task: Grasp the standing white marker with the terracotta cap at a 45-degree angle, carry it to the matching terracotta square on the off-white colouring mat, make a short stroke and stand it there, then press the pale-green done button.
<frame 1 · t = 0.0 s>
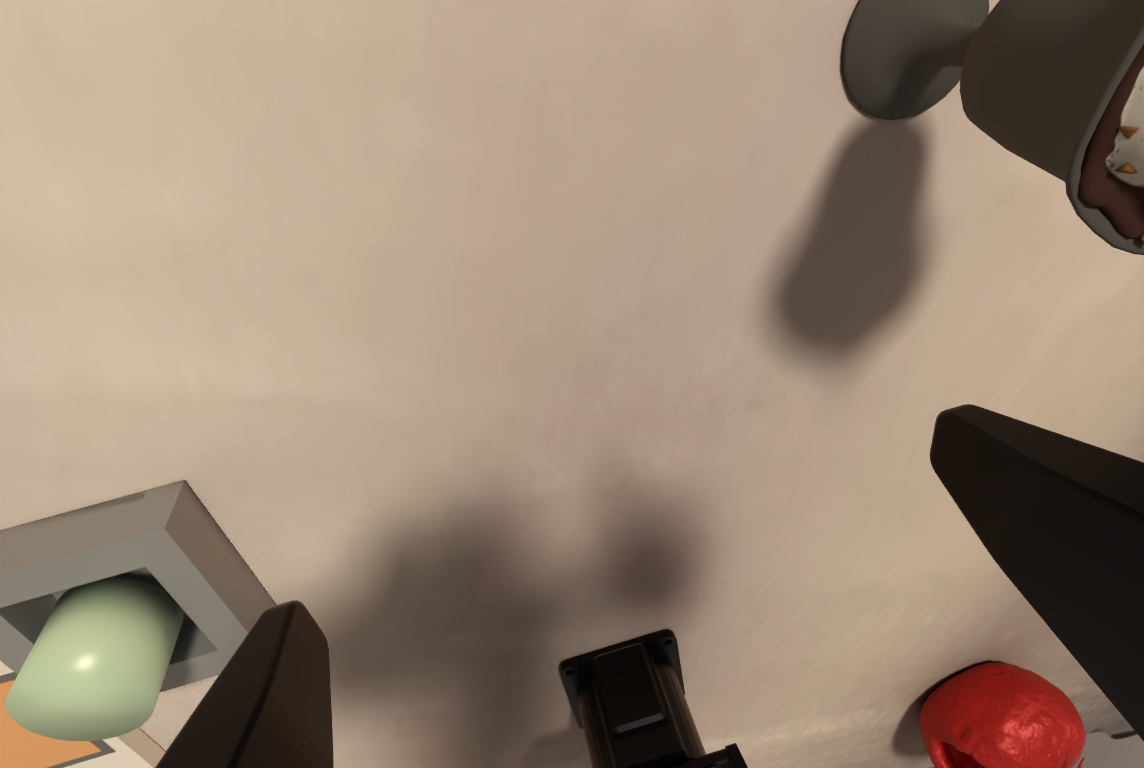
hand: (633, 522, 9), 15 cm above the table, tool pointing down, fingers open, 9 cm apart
button housing: (136, 578, 26), on the table
pomegranate: (963, 685, 48), on the table
done button: (102, 657, 23), point 4 cm above the table, slide at 0.0 cm
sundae: (910, 36, 21), on the table
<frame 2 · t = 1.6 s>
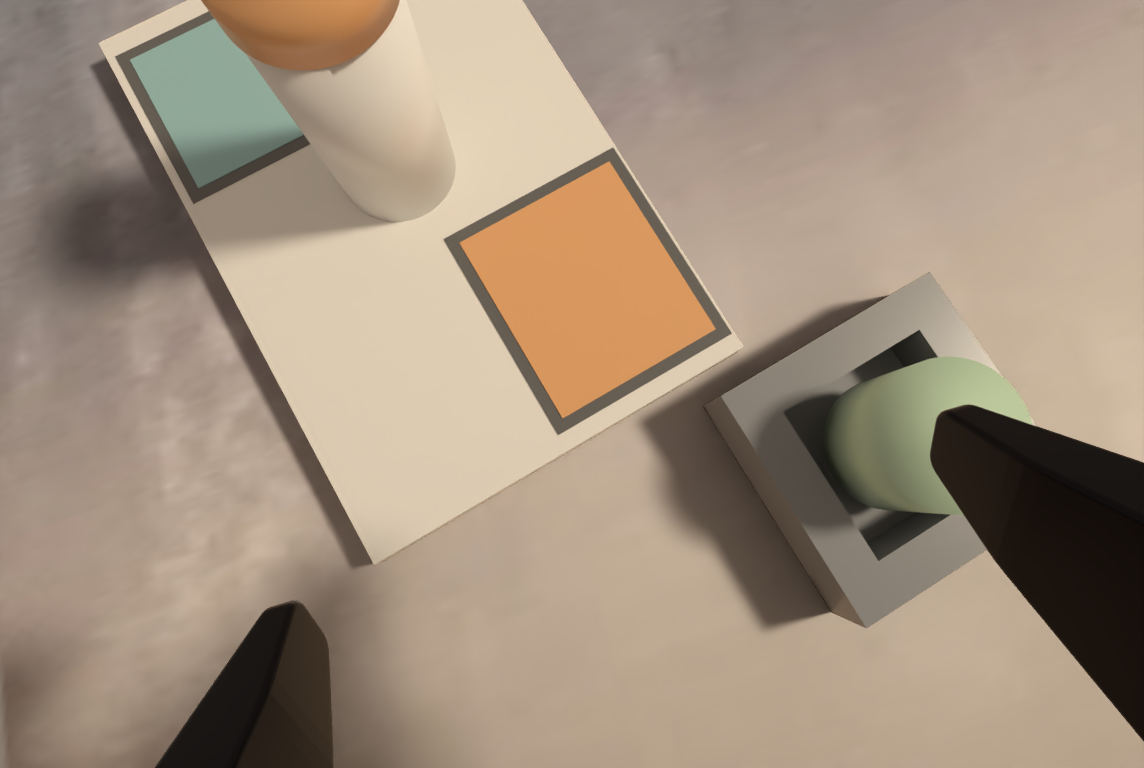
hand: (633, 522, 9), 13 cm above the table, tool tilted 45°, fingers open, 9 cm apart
button housing: (862, 447, 23), on the table
marker: (398, 167, 23), point 1 cm above the table, touching colouring mat
done button: (918, 439, 19), point 4 cm above the table, slide at 0.0 cm
colouring mat: (418, 203, 24), on the table
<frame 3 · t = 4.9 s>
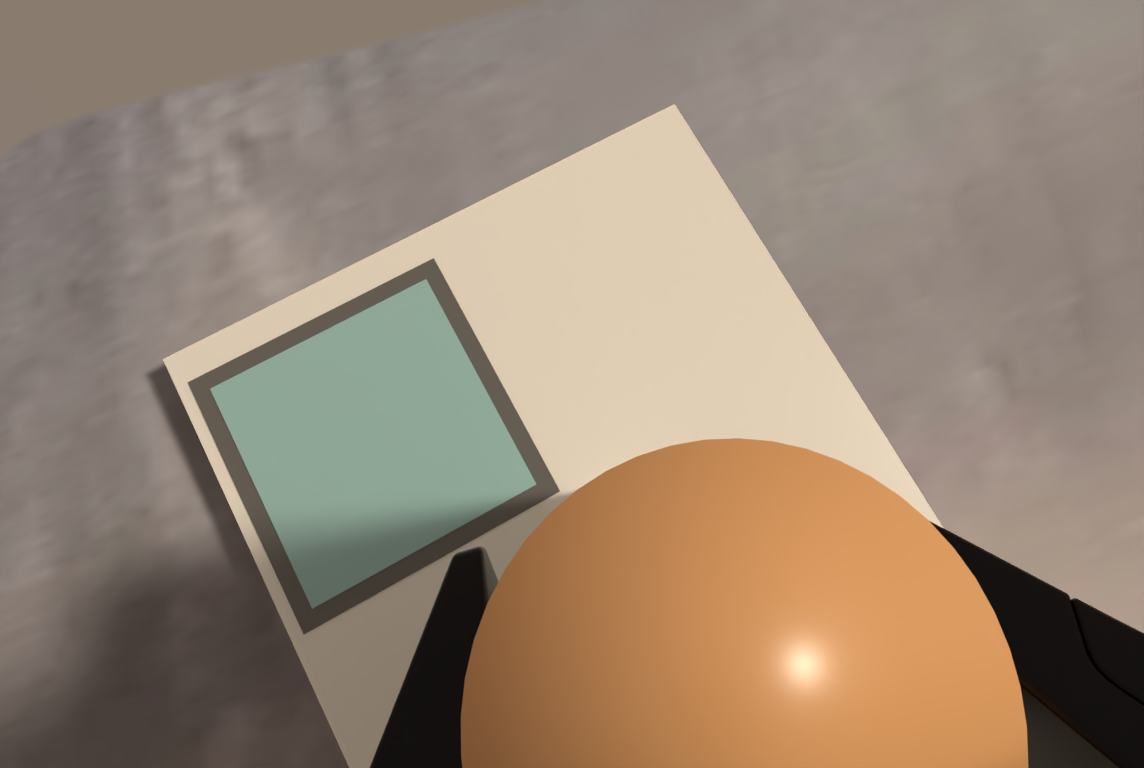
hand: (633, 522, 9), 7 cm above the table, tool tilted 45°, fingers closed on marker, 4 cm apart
marker: (620, 576, 15), point 1 cm above the table, touching colouring mat, gripper
colouring mat: (638, 609, 15), on the table
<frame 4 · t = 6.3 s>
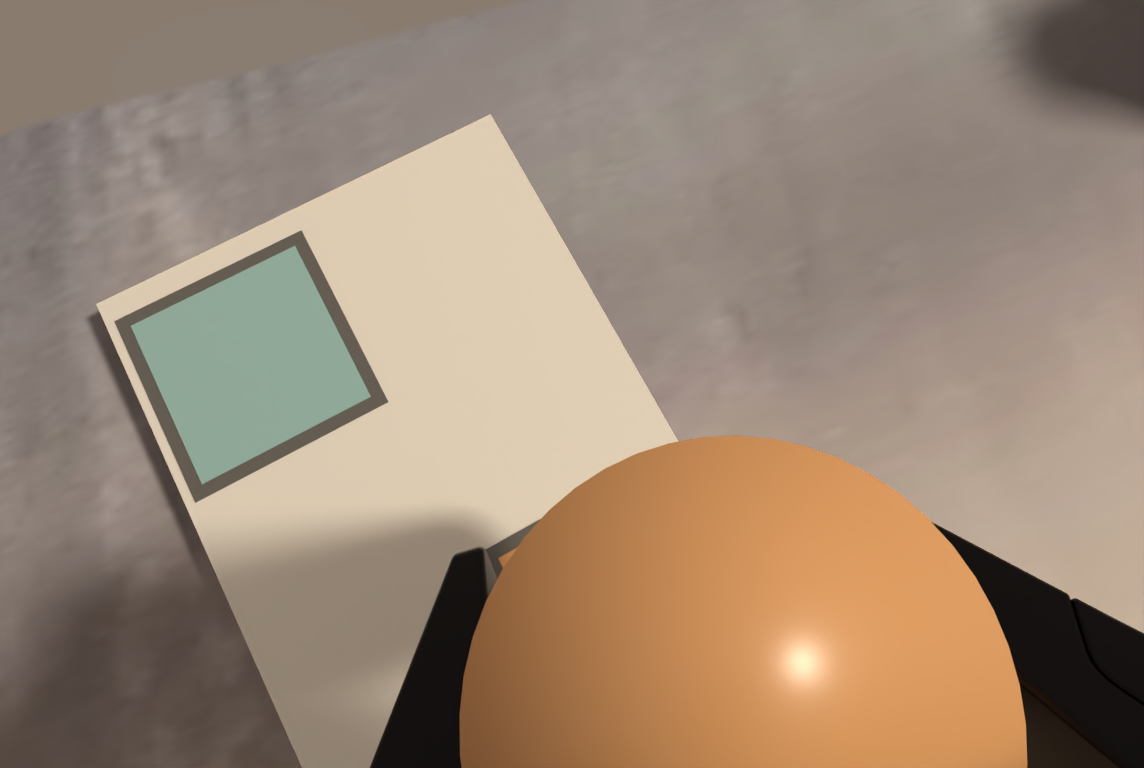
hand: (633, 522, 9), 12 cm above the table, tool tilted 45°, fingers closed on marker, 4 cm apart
marker: (620, 575, 15), point 6 cm above the table, touching gripper
colouring mat: (450, 492, 21), on the table
when the fingers open (8 cm above the table, at t = 7.9 s): marker stays where it is, resting on colouring mat.
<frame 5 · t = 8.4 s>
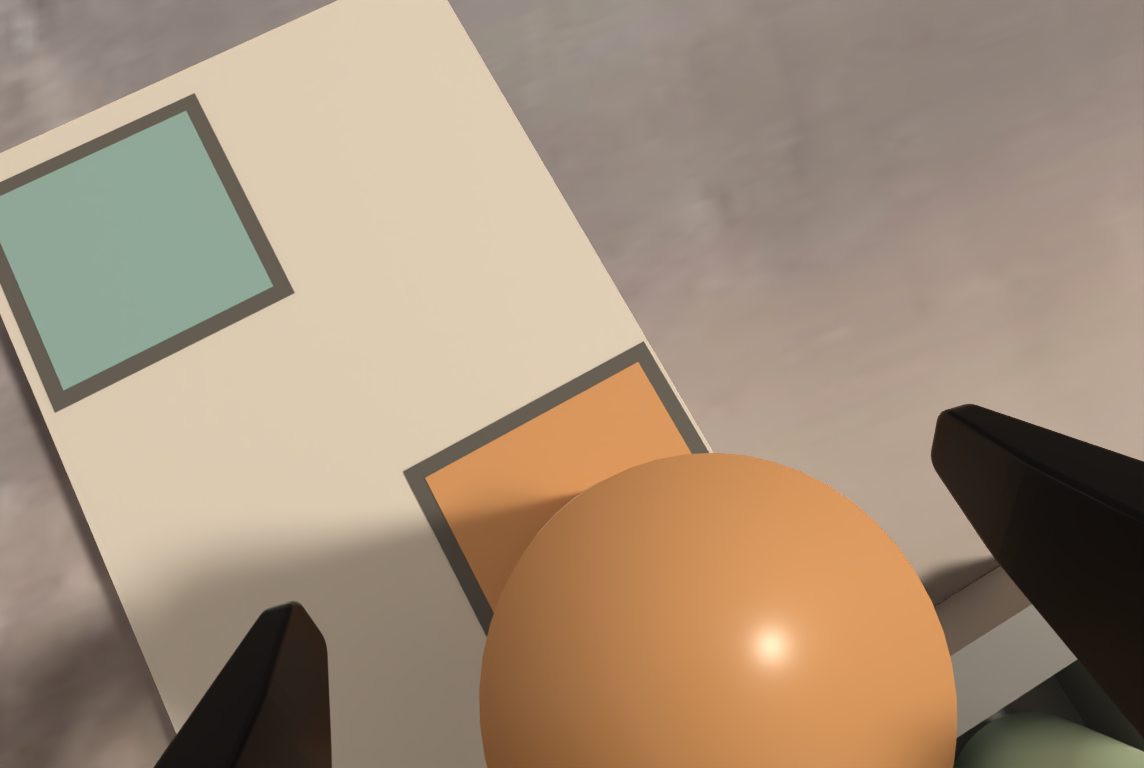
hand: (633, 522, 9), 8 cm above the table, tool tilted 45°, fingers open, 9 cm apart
marker: (616, 572, 16), point 1 cm above the table, touching colouring mat
colouring mat: (373, 405, 17), on the table
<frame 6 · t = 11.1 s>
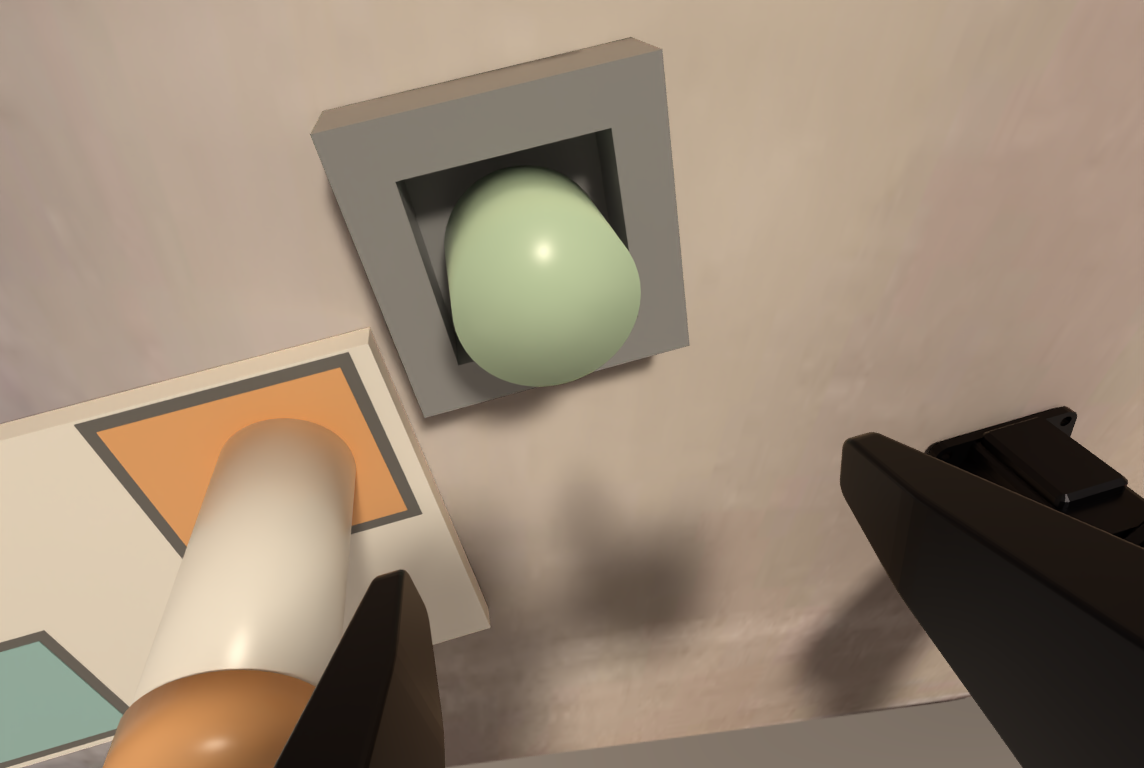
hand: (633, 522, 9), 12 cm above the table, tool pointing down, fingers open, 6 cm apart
button housing: (515, 222, 19), on the table
marker: (288, 469, 20), point 1 cm above the table, touching colouring mat
done button: (535, 273, 16), point 4 cm above the table, slide at 0.0 cm
colouring mat: (147, 573, 23), on the table
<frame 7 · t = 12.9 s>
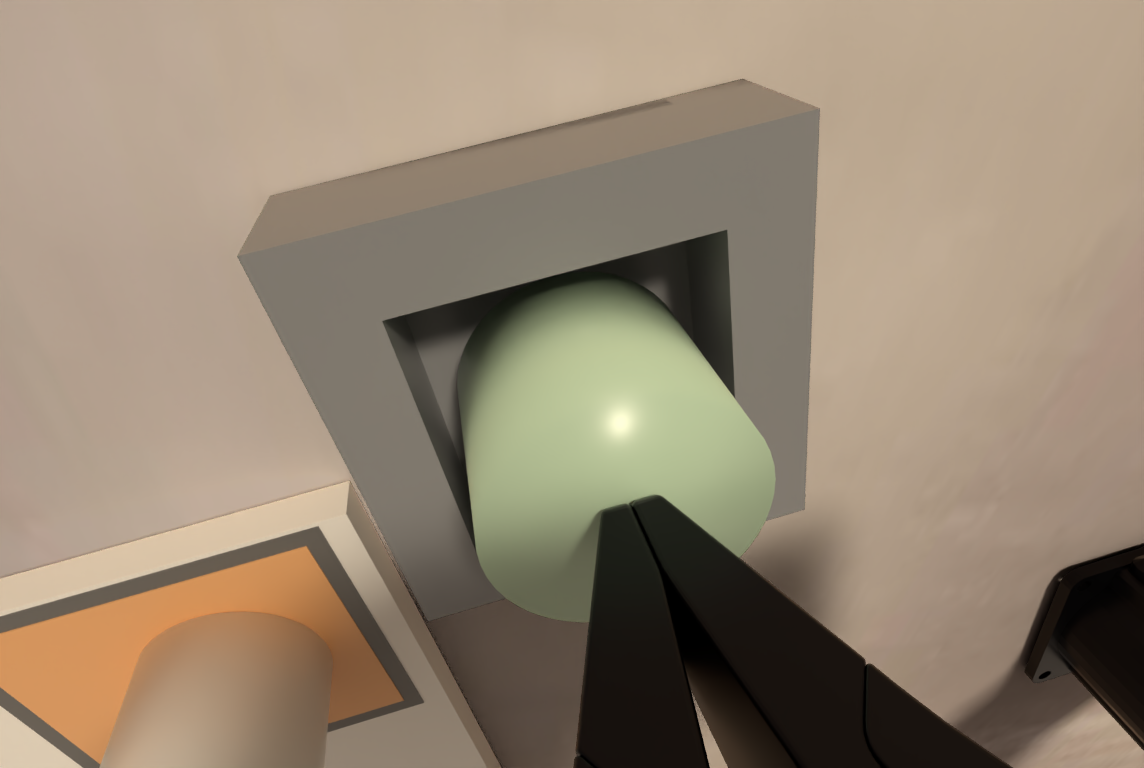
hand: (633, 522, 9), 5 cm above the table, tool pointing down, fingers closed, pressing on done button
button housing: (559, 340, 13), on the table
marker: (238, 670, 15), point 1 cm above the table, touching colouring mat
done button: (598, 440, 10), point 3 cm above the table, slide at 0.3 cm, touching gripper
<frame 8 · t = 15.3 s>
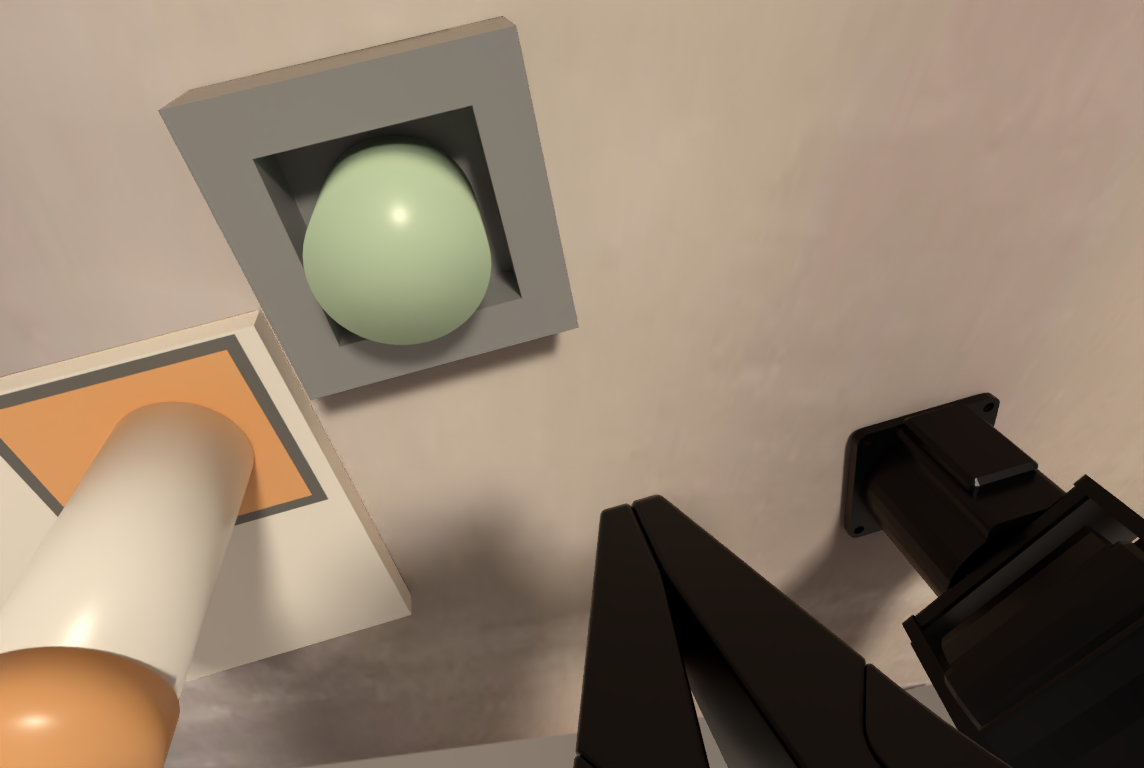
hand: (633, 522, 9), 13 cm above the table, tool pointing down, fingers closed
button housing: (401, 204, 19), on the table
marker: (184, 453, 20), point 1 cm above the table, touching colouring mat
done button: (400, 237, 17), point 3 cm above the table, slide at 0.9 cm
colouring mat: (53, 559, 23), on the table
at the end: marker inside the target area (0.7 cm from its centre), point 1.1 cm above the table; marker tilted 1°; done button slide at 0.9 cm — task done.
